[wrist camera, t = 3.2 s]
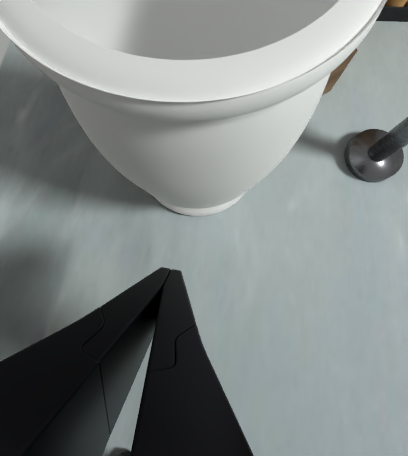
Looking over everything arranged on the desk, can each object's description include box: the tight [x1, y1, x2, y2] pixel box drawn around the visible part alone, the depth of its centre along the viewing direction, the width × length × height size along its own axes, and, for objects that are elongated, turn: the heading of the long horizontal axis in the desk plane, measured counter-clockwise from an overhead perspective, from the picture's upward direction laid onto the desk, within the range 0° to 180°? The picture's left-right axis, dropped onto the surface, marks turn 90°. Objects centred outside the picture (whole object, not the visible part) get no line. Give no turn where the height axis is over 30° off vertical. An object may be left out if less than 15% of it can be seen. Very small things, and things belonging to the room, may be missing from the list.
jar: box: [0, 0, 387, 216], centre depth 14 cm, size 11×10×15 cm
